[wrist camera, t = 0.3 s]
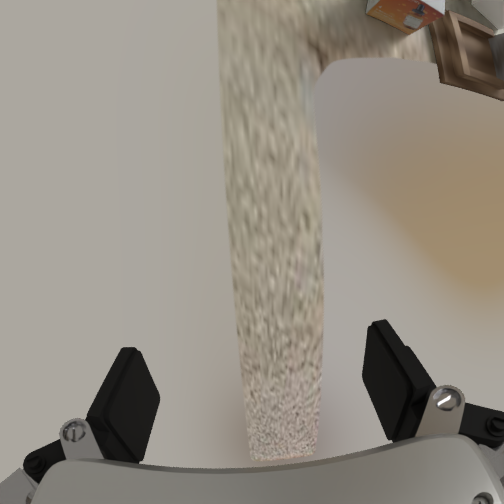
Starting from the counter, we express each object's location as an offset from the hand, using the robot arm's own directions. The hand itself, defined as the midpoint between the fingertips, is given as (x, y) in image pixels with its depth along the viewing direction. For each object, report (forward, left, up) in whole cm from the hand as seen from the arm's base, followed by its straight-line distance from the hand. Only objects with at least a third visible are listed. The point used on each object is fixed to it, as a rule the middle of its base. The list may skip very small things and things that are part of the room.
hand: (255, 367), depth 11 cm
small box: (-31, +24, -31) cm, 50 cm away
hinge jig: (-27, +40, -31) cm, 57 cm away
